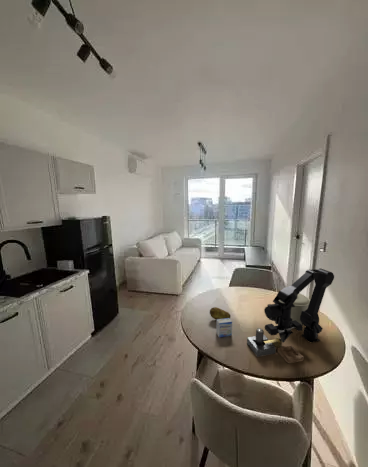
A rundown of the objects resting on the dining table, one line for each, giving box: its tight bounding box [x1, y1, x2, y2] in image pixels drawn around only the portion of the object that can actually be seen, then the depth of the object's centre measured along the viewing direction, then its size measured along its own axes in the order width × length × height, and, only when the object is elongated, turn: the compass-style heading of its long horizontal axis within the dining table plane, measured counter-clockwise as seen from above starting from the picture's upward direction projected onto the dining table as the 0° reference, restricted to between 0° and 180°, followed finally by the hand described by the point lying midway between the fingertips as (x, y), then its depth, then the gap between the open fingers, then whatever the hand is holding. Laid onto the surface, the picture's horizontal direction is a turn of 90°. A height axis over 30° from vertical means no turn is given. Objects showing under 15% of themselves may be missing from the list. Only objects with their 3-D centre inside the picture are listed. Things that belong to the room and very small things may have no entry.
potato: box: [209, 306, 231, 321], centre depth 135 cm, size 8×13×8 cm, turn 71°
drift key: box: [263, 336, 283, 348], centre depth 110 cm, size 9×3×4 cm, turn 102°
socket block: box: [246, 334, 277, 358], centre depth 109 cm, size 10×10×4 cm
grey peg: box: [255, 327, 265, 346], centre depth 108 cm, size 4×4×11 cm
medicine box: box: [215, 317, 233, 338], centre depth 120 cm, size 8×4×9 cm, turn 101°
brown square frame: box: [277, 345, 304, 364], centre depth 104 cm, size 8×8×2 cm
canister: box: [279, 292, 311, 329], centre depth 129 cm, size 18×18×21 cm
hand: (282, 342), depth 112 cm, fingers closed
